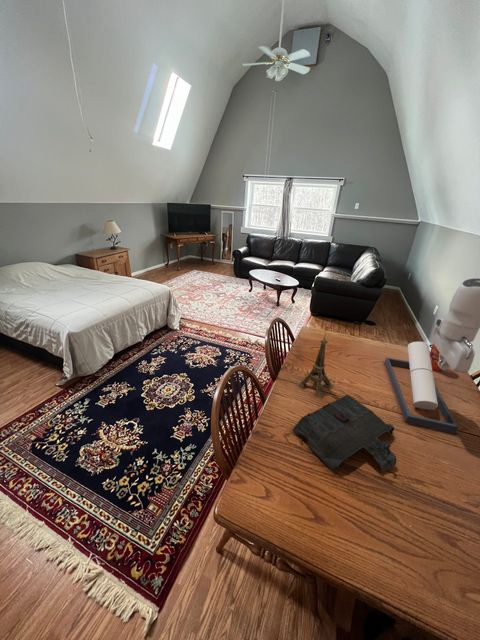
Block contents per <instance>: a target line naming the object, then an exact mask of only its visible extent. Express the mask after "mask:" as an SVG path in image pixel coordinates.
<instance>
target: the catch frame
mask: <svg viewBox="0 0 480 640" xmlns="http://www.w3.org/2000/svg"><path fill="white" fill-rule="evenodd" d="M384 366H385V368H386V372H387V374H388V377H389V379H390V383H391V385H392V388H393V389H392V390H393V391H394V395H395V398H396V400H397V404H398V406H399V409H400V411H401V414H402V417H403V419H404V423H406V424H410V425H414V426H418V427H423V428H427V429H432V430H437V431H441V432H445V433H450V434H454V435H456V434H457V432H458V430H459V428H460V426H459V425H458V423H457V421H456V419H455V418H454V416H453V414H452V413H451V410H450V409H449V407H448V405H447V404H446V401H444V398H443V397H442V395H441V393H440V392H439V390H438V388H437V386H436V385H435V390H436V396H437V403H438V407H437V408H438V409H439V411H440V413H441V415H442V417H443V419H444V420H445V421H441V420H437V419H432V418H427V417H422V416H418V415H413V414H411V413H410V410H409V408H408V404H407V402H406V399H405V397H404V395H403V392H402V389H401V386H400V384H399V382H398V379H397V376H396V373H395V371H394V369H393V366H394V367H400V368H405V369H410V365H409V360H403V359H398V358H391V357H385V359H384Z"/></svg>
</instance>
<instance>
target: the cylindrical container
mask: <svg viewBox="0 0 480 640" xmlns="http://www.w3.org/2000/svg"><path fill="white" fill-rule="evenodd" d="M407 354H408V355H407V356H408V361H409V365H410V368H409V373H410V374H409V375H410V383H411V391H412V401H413V406H414V407H415V408H418V409H421V410H434V409H437V408H439V407H438V403H437V396H436V390H435V386H436V385H435V379H434V378H435V377H434V372H433V371H434V370H432V365H431V359H430V347H429V344H428V343H427V342H425V341H413V342H410V343H408V345H407Z"/></svg>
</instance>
